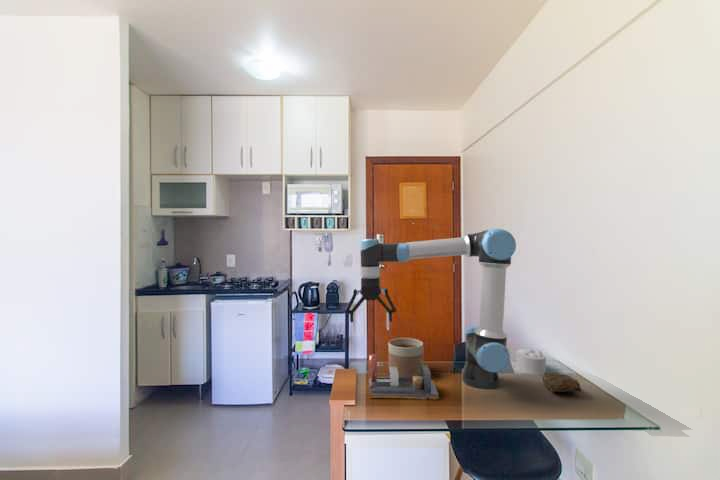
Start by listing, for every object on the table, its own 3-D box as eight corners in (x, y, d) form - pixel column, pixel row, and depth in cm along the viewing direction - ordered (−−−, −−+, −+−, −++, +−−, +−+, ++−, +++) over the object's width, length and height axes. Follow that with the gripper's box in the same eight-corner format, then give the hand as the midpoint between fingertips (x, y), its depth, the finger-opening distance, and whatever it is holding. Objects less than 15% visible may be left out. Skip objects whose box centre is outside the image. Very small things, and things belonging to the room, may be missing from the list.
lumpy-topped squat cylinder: (532, 364, 162) (531, 346, 162) (552, 374, 149) (552, 354, 149) (513, 365, 160) (512, 347, 160) (532, 376, 147) (531, 356, 147)
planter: (384, 376, 148) (383, 345, 148) (394, 364, 163) (394, 336, 163) (419, 381, 142) (418, 349, 142) (426, 368, 157) (426, 339, 157)
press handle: (397, 381, 137) (396, 352, 137) (398, 390, 129) (398, 359, 129) (369, 381, 138) (368, 352, 138) (368, 389, 129) (368, 359, 129)
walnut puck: (422, 384, 134) (422, 375, 134) (423, 388, 130) (423, 379, 130) (412, 384, 134) (412, 375, 135) (413, 388, 130) (413, 379, 131)
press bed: (432, 385, 138) (432, 363, 139) (438, 399, 125) (438, 375, 126) (370, 384, 140) (370, 362, 140) (370, 398, 127) (369, 374, 127)
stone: (567, 384, 138) (565, 370, 139) (583, 397, 125) (581, 380, 125) (541, 385, 140) (539, 370, 141) (554, 397, 126) (552, 381, 127)
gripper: (400, 275, 137) (400, 327, 137) (339, 276, 137) (340, 328, 137) (402, 277, 130) (403, 331, 130) (338, 278, 130) (339, 332, 129)
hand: (371, 330), depth 133 cm, fingers open, 13 cm apart
